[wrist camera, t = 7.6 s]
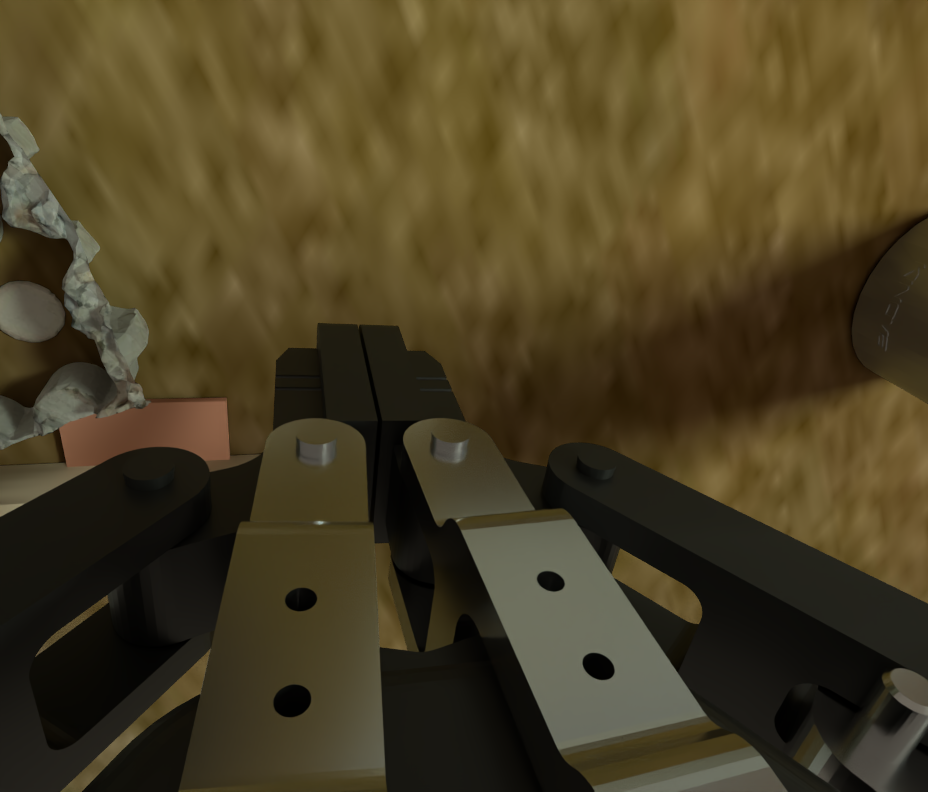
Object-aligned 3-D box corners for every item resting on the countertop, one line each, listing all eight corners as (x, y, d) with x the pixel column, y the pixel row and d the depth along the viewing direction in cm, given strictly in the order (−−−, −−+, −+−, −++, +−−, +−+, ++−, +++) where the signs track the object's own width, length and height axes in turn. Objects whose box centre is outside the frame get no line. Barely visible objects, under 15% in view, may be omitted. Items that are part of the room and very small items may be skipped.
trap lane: (488, -122, 20) (521, -142, 17) (425, 461, 30) (440, 501, 27) (-486, -331, 14) (-655, -410, 11) (-151, 490, 24) (-200, 545, 21)
